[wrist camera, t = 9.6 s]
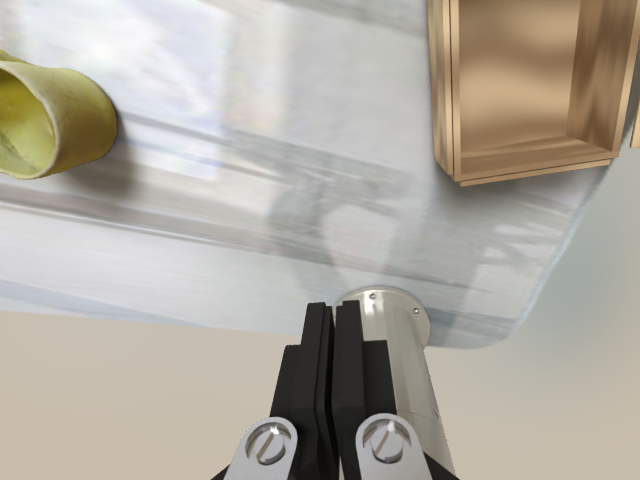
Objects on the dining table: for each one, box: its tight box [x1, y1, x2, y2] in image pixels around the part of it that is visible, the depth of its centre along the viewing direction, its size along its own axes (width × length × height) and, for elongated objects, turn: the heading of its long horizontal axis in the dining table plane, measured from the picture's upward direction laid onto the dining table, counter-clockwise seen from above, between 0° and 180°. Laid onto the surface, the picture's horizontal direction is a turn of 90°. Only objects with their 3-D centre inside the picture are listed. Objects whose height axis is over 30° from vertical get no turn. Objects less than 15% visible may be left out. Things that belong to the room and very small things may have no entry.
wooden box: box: [427, 0, 640, 187], centre depth 28 cm, size 17×13×7 cm
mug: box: [0, 50, 116, 180], centre depth 32 cm, size 12×10×10 cm
